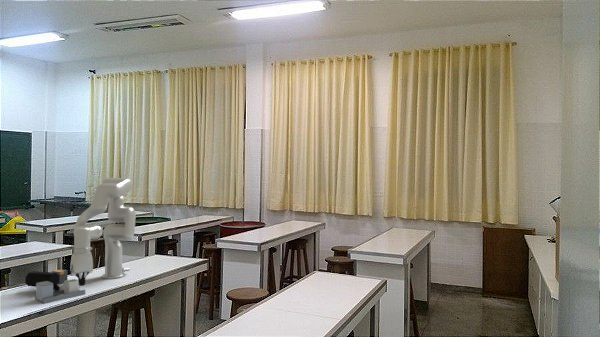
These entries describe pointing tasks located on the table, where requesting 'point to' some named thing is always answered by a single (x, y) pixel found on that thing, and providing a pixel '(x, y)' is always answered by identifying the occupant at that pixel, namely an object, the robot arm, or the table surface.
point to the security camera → (43, 278)
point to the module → (70, 286)
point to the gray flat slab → (60, 296)
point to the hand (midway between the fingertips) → (81, 285)
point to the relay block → (61, 275)
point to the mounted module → (44, 290)
